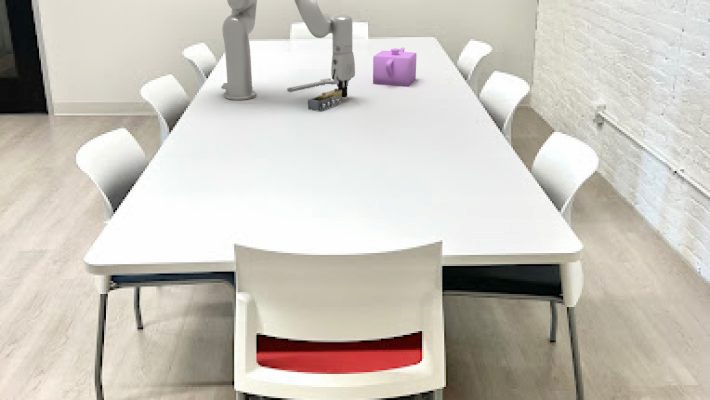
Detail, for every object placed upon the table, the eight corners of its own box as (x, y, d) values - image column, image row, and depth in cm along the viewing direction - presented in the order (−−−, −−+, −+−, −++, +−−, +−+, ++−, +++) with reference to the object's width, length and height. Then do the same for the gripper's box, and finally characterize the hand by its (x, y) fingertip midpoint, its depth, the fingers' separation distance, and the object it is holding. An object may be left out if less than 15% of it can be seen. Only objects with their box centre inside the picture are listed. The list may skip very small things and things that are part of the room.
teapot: (419, 76, 329) (420, 44, 324) (405, 89, 307) (406, 55, 302) (386, 73, 334) (386, 42, 328) (369, 86, 312) (369, 52, 306)
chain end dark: (306, 108, 280) (306, 99, 278) (316, 105, 284) (316, 96, 283) (322, 111, 276) (321, 102, 275) (331, 107, 281) (331, 98, 279)
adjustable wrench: (290, 93, 303) (289, 89, 302) (281, 90, 308) (281, 86, 307) (340, 84, 317) (339, 79, 316) (331, 81, 322) (330, 77, 321)
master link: (318, 107, 282) (318, 93, 280) (336, 100, 291) (336, 87, 289) (323, 108, 280) (323, 94, 278) (341, 101, 290) (341, 88, 288)
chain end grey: (317, 104, 285) (317, 95, 284) (325, 101, 289) (325, 92, 288) (332, 107, 281) (332, 98, 280) (340, 104, 285) (340, 95, 284)
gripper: (339, 53, 277) (339, 102, 284) (361, 47, 289) (361, 94, 296) (322, 51, 281) (323, 99, 288) (345, 45, 292) (345, 91, 299)
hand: (342, 96), depth 292 cm, fingers closed
